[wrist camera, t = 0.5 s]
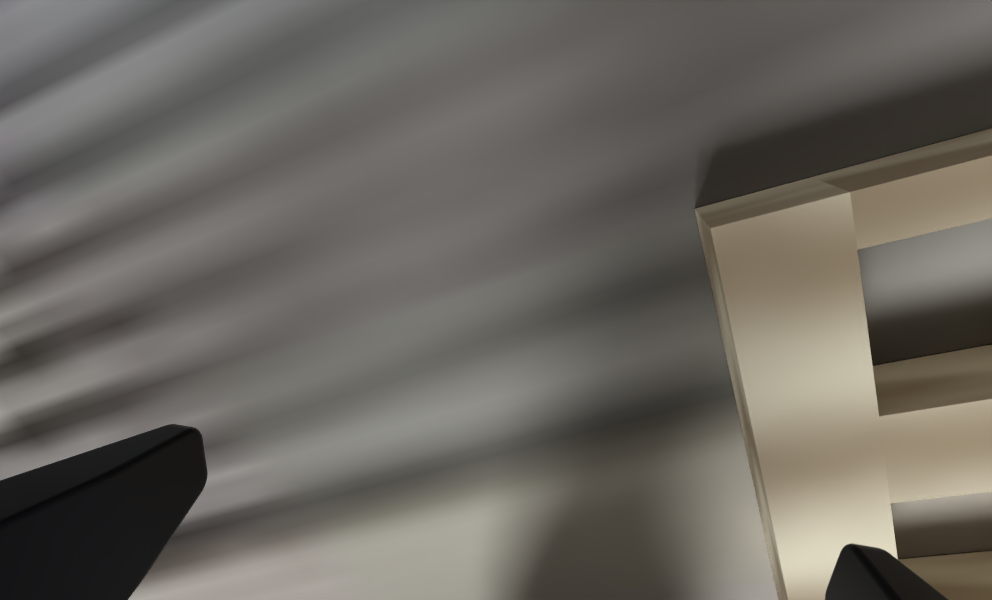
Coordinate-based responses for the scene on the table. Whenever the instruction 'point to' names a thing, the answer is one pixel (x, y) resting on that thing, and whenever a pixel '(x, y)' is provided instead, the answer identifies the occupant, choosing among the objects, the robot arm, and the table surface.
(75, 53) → the table surface
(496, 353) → the table surface
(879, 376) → the socket block
